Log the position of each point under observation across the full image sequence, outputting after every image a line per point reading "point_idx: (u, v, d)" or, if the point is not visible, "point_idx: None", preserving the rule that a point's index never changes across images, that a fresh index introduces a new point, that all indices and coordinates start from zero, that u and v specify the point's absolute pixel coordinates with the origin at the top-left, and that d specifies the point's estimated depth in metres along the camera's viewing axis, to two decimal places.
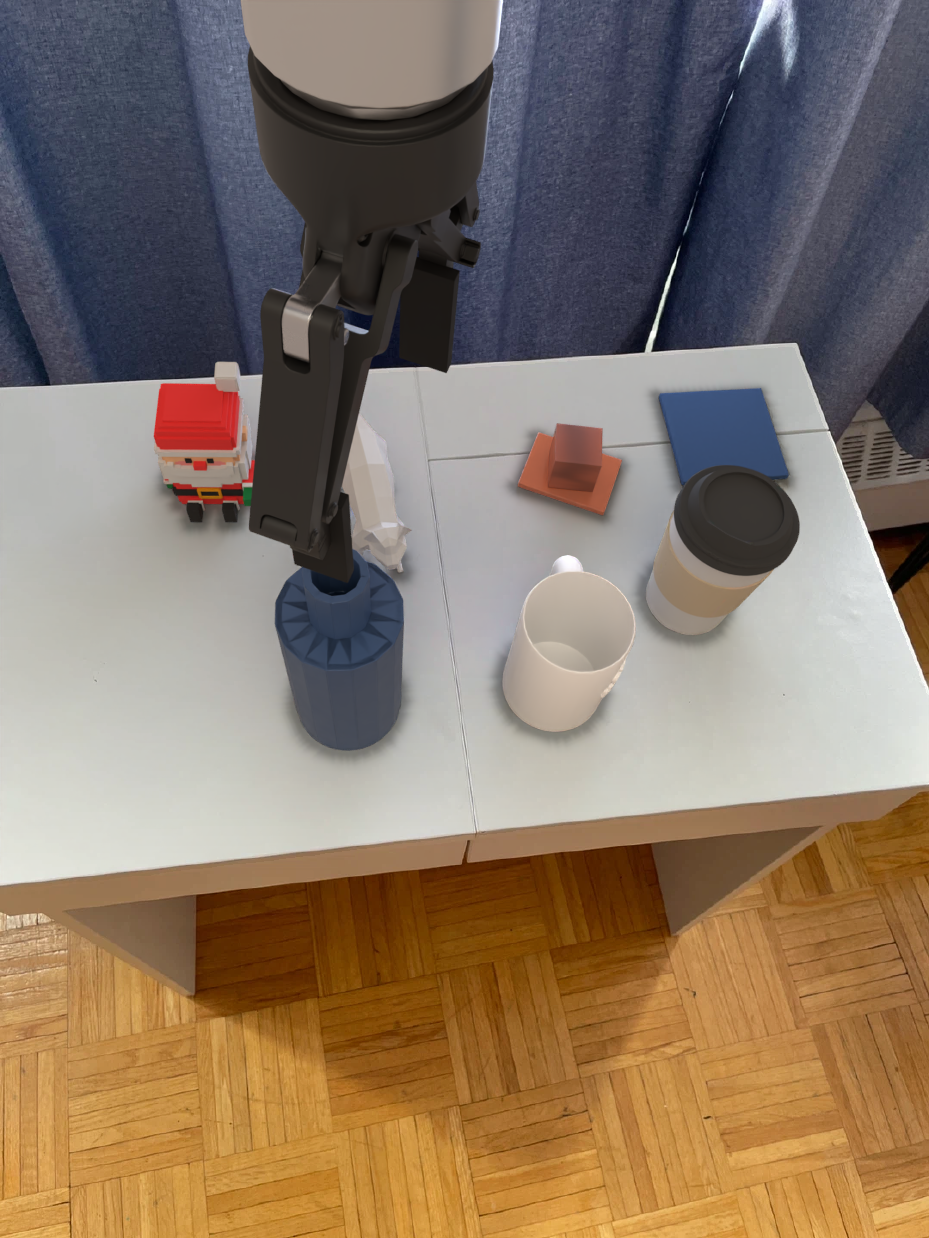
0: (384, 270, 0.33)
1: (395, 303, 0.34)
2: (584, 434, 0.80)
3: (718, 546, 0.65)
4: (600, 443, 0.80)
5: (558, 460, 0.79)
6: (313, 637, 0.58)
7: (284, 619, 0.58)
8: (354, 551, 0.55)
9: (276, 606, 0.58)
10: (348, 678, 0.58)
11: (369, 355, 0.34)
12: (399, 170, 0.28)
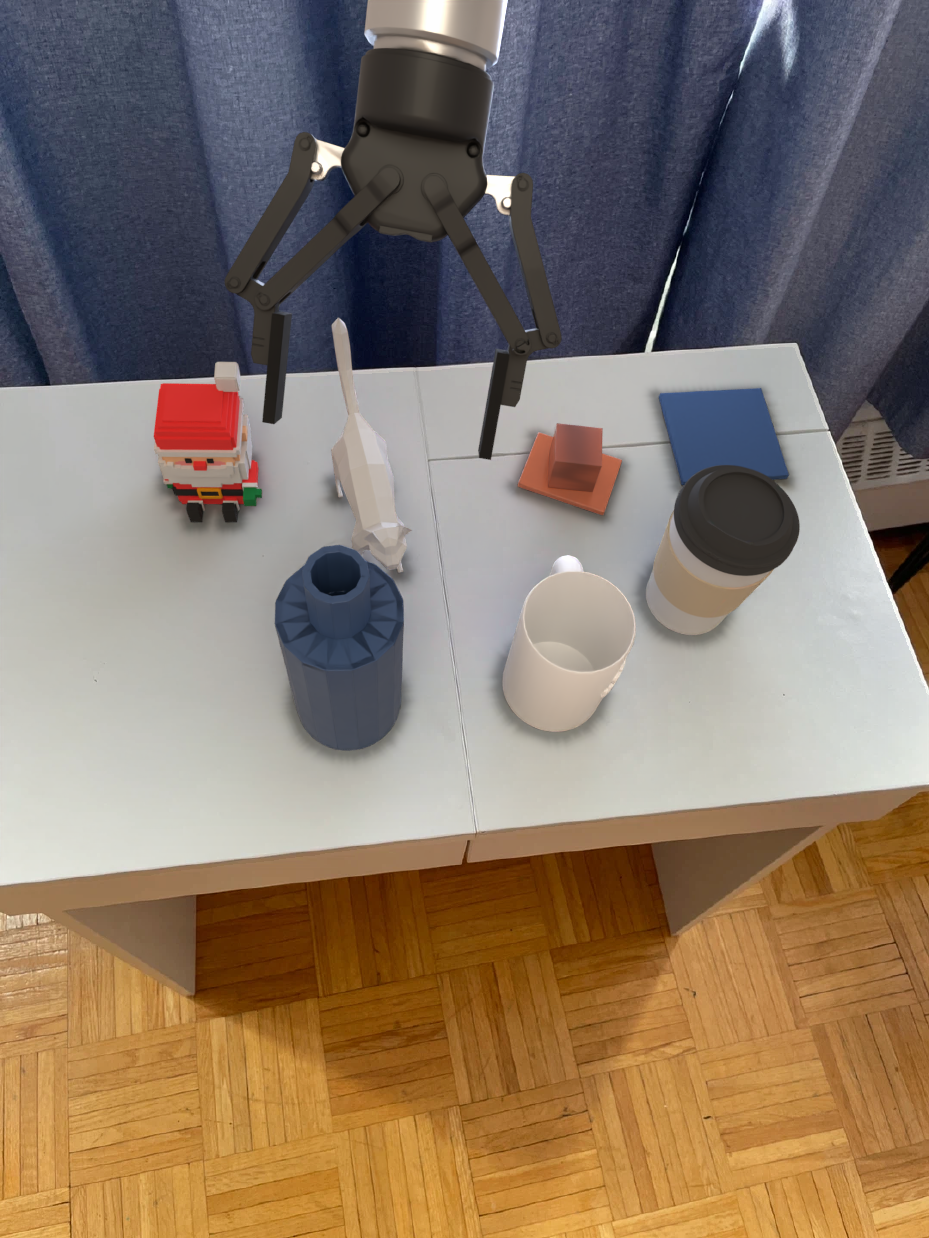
0: None
1: (369, 202, 0.53)
2: (584, 434, 0.80)
3: (718, 546, 0.65)
4: (600, 443, 0.80)
5: (558, 460, 0.79)
6: (313, 637, 0.58)
7: (284, 619, 0.58)
8: (354, 551, 0.55)
9: (276, 606, 0.58)
10: (348, 678, 0.58)
11: (335, 215, 0.54)
12: (368, 71, 0.50)
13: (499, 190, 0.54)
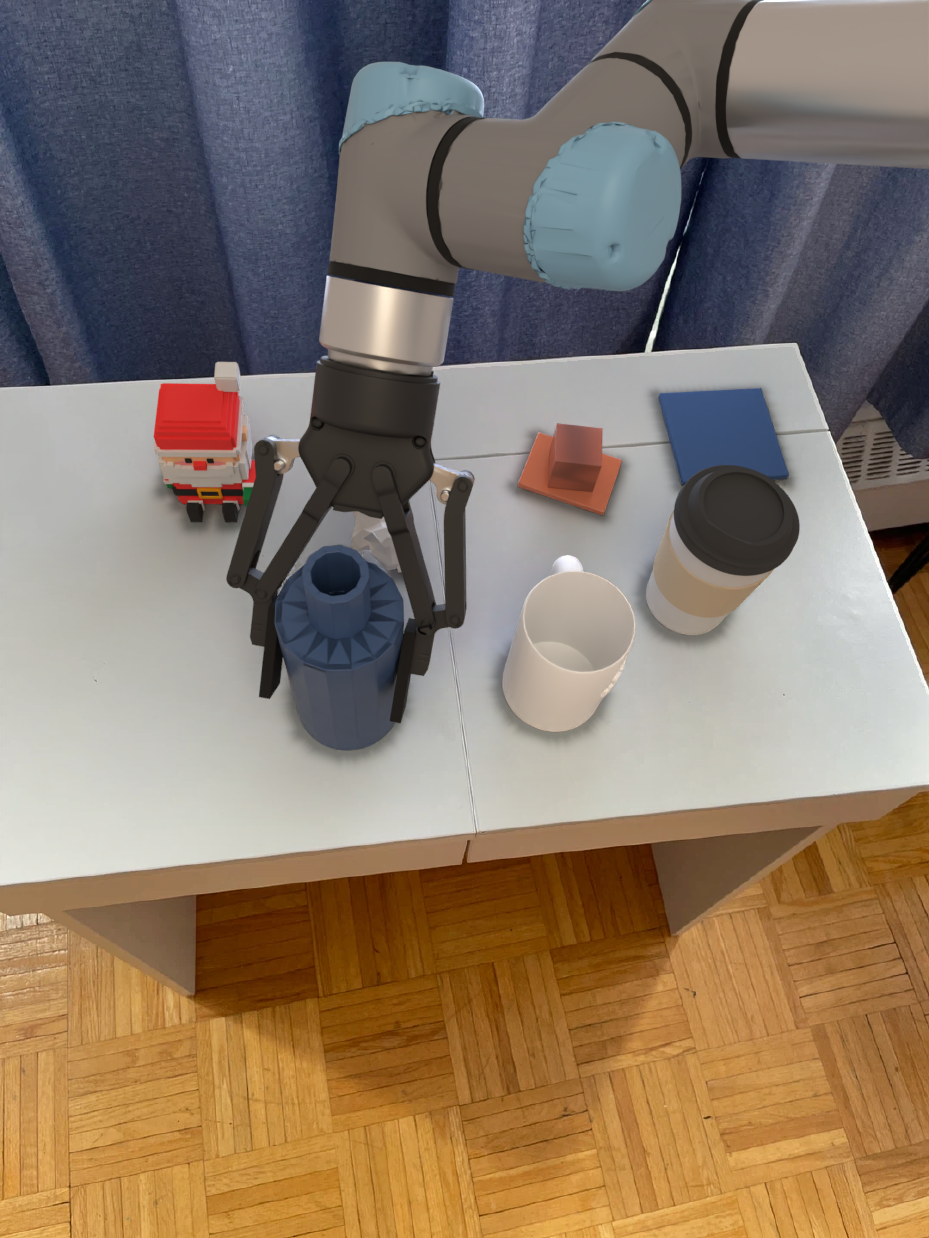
0: (328, 469, 0.57)
1: (329, 492, 0.57)
2: (584, 434, 0.80)
3: (718, 546, 0.65)
4: (600, 443, 0.80)
5: (558, 460, 0.79)
6: (313, 637, 0.58)
7: (284, 619, 0.58)
8: (354, 551, 0.55)
9: (276, 606, 0.58)
10: (348, 678, 0.58)
11: None
12: (319, 379, 0.55)
13: (442, 482, 0.58)
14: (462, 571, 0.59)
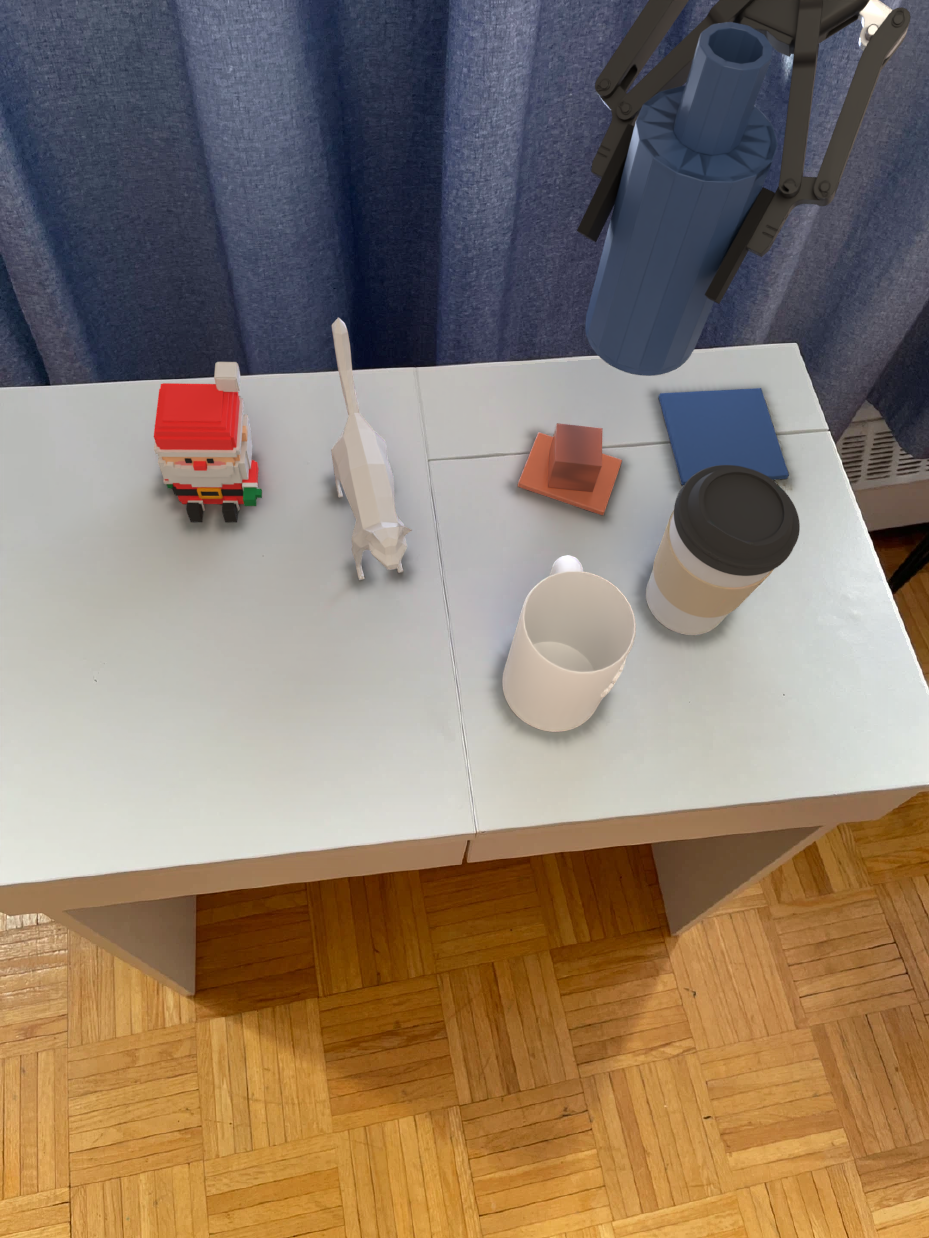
0: None
1: None
2: (584, 434, 0.80)
3: (718, 546, 0.65)
4: (600, 443, 0.80)
5: (558, 460, 0.79)
6: (672, 144, 0.52)
7: (647, 120, 0.53)
8: (762, 35, 0.49)
9: (642, 108, 0.53)
10: (693, 200, 0.52)
11: (709, 12, 0.53)
12: None
13: (873, 18, 0.51)
14: (856, 128, 0.52)
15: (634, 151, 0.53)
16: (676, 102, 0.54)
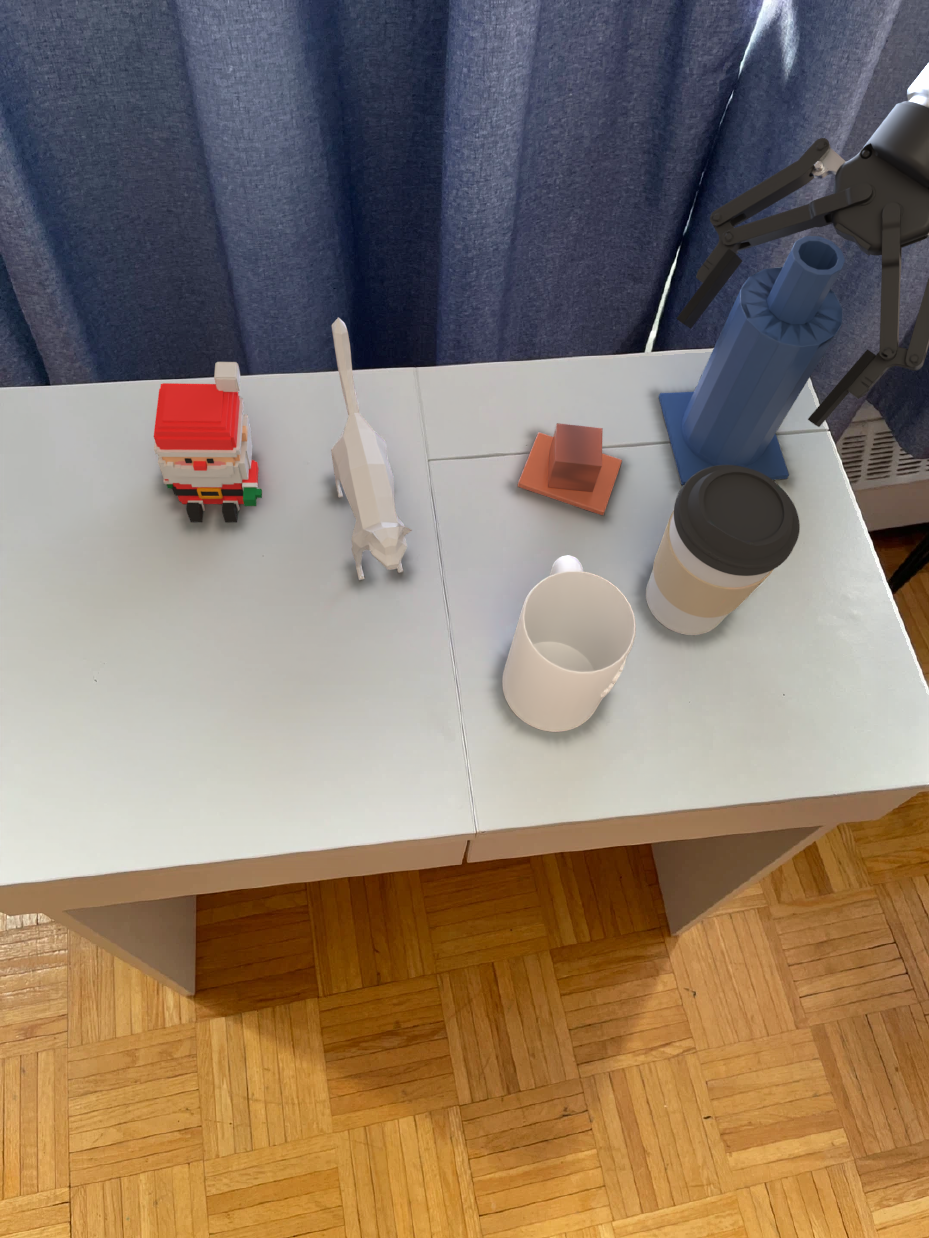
0: None
1: (839, 202, 0.70)
2: (584, 434, 0.80)
3: (718, 546, 0.65)
4: (600, 443, 0.80)
5: (558, 460, 0.79)
6: (763, 310, 0.72)
7: (749, 289, 0.72)
8: (839, 250, 0.68)
9: (748, 279, 0.73)
10: (770, 353, 0.71)
11: (811, 202, 0.71)
12: (892, 114, 0.68)
13: None
14: None
15: (735, 309, 0.73)
16: (774, 279, 0.73)
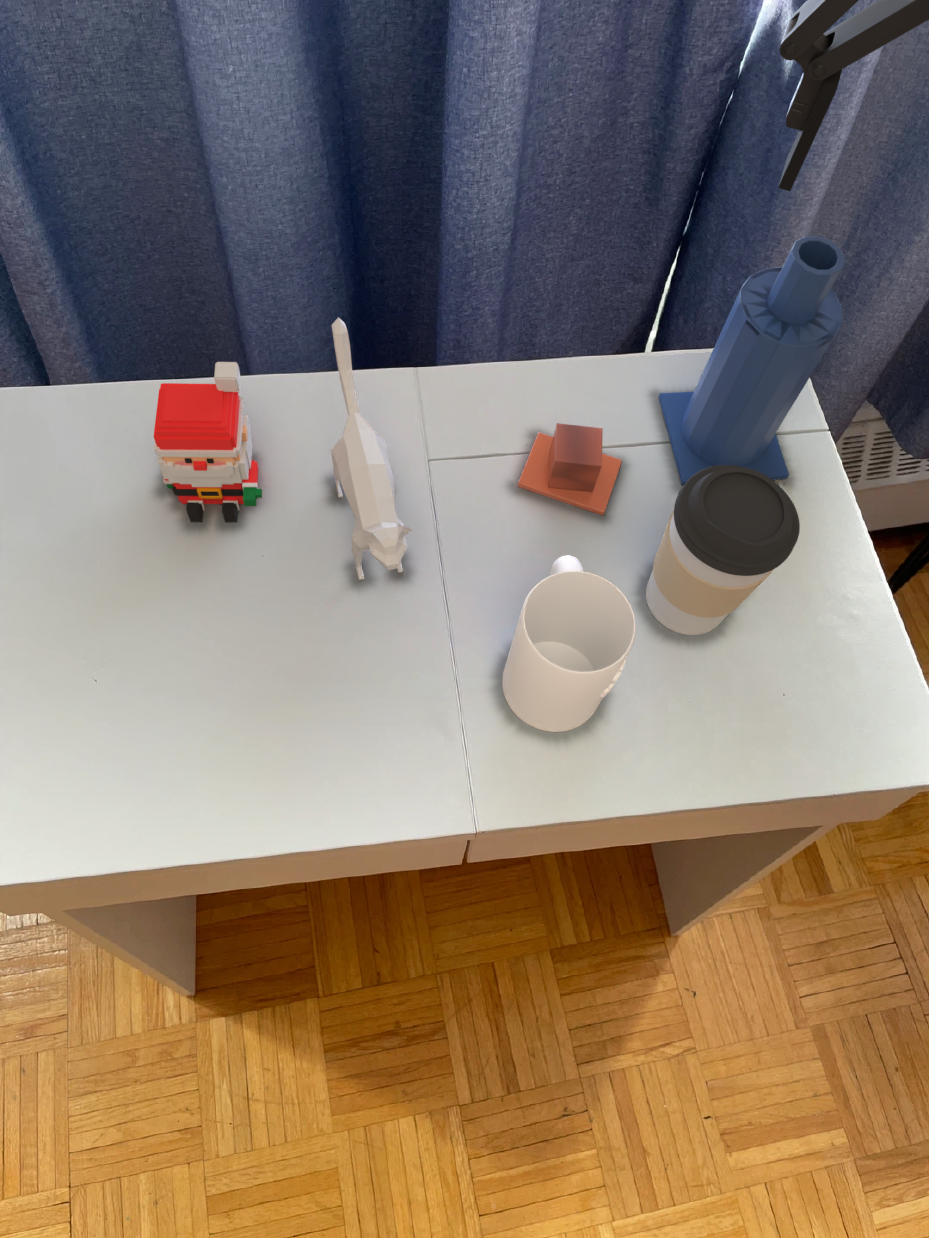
0: None
1: None
2: (584, 434, 0.80)
3: (718, 546, 0.65)
4: (600, 443, 0.80)
5: (558, 460, 0.79)
6: (763, 310, 0.72)
7: (749, 289, 0.72)
8: (839, 250, 0.68)
9: (748, 279, 0.73)
10: (770, 353, 0.71)
11: None
12: None
13: None
14: None
15: (735, 309, 0.73)
16: (774, 279, 0.73)
